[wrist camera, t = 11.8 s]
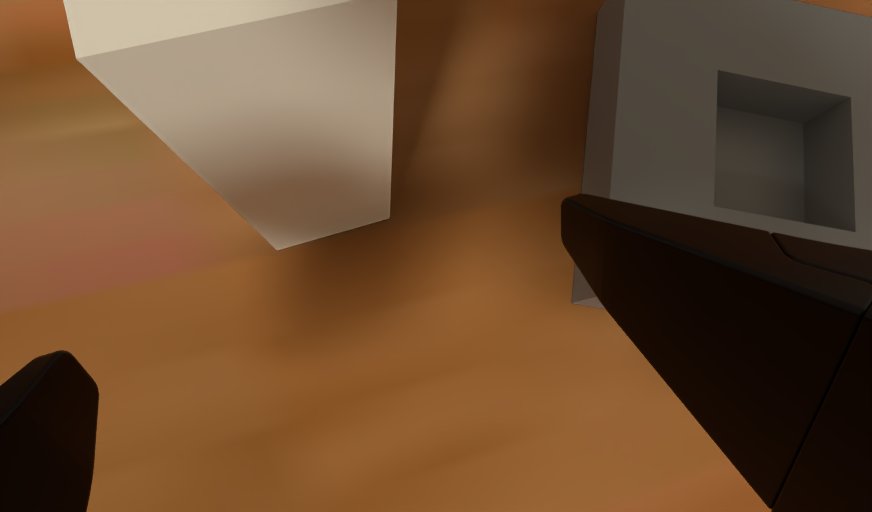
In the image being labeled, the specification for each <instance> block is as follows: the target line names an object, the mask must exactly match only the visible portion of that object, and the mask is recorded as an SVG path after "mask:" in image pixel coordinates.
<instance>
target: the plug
mask: <svg viewBox="0 0 872 512" xmlns="http://www.w3.org/2000/svg"><path fill="white" fill-rule="evenodd" d="M63 1H64V5H65V10H66V14H67V19H68V23H69V28H70V32H71V37H72V41H73V46H74V50H75V55H76V59H77V60H78V61H79V62H80V63H82V64H83V65H84V66H85V67H86V68H87V69H88V70H89V71H90V72H91V73H92V74H93V75H94V76H95V77H96V78H97V79H98V80H99V81H100V82H101V83H102V84H103V85H105V86H106V87H107V88H108V89H109V90H110V91H111V92H112V93H113V94H114V95H115V96H116V97H117V98H118V99H119V100H120V101H121V102H122V103H123V104H124V105H125V106H127V107H128V108H129V109H130V110H131V111H132V112H133V113H134V114H135V115H136V116H137V117H138V118H139V119H140V120H141V121H142V122H143V123H144V124H145V125H146V126H147V127H148V128H150V129H151V130H152V131H153V132H154V133H155V134H156V135H157V136H158V137H159V138H160V139H161V140H162V141H163V142H164V143H165V144H166V145H167V146H168V147H169V148H170V149H171V150H173V151H174V152H175V153H176V154H177V155H178V156H179V157H180V158H181V159H182V160H183V161H184V162H185V163H186V164H187V165H188V166H189V167H190V168H191V169H192V170H193V171H195V172H196V173H197V174H198V175H199V176H200V177H201V178H202V179H203V180H204V181H205V182H206V183H207V184H208V185H209V186H210V187H211V188H212V189H213V190H214V191H215V192H216V193H218V194H219V195H220V196H221V197H222V198H223V199H224V200H225V201H226V202H227V203H228V204H229V205H230V206H231V207H232V208H233V209H234V210H235V211H236V212H237V213H238V214H240V215H241V216H242V217H243V218H244V219H245V220H246V221H247V222H248V223H249V224H250V225H251V226H252V227H253V228H254V229H255V230H256V231H257V232H258V233H259V234H260V235H261V236H263V237H264V238H265V239H266V240H267V241H268V242H269V243H270V244H271V245H272V246H273V247H274V248H275V249H276V250H280V249H284V248H287V247H291V246H295V245H298V244H302V243H305V242H309V241H312V240H316V239H319V238H323V237H326V236H330V235H333V234H337V233H340V232H344V231H347V230H351V229H354V228H358V227H361V226H365V225H368V224H372V223H375V222H379V221H382V220H386V219H389V218H390V199H391V169H392V140H393V110H394V80H395V51H396V21H397V0H63Z"/></svg>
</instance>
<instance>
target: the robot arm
mask: <svg viewBox="0 0 872 512" xmlns="http://www.w3.org/2000/svg"><path fill="white" fill-rule="evenodd" d="M561 238H562V242H563V244H564V246H565V248H566V250H567V251H568V253H569V254H570V256H571V258H572V259H573V261H574V262H575V264H576V265H577V267H578V269H579V270H580V272H581V273H582V275H583V276H584V278H585V279H586V281H587V283H588V284H589V286H590V287H591V289H592V290H593V292H594V294H595V295H596V296H597V298H598V299H599V301H600V302H601V304H602V305H603V306H604V308H605V309H606V310H607V311H608V313H609V314H610V315H611V316H612V318H613V319H614V320H615V321H616V322H617V324H618V325H619V326H620V327H621V328H622V330H623V331H624V332H625V333H626V335H627V336H628V337H629V338H630V339H631V341H632V342H633V343H634V344H635V346H636V347H637V348H638V349H639V350H640V352H641V353H642V354H643V355H644V357H645V358H646V359H647V360H648V361H649V363H650V364H651V365H652V366H653V368H654V369H655V370H656V371H657V372H658V374H659V375H660V376H661V377H662V378H663V380H664V381H665V382H666V383H667V385H668V386H669V387H670V388H671V389H672V391H673V392H674V393H675V394H676V396H677V397H678V398H679V399H680V400H681V402H682V403H683V404H684V405H685V407H686V408H687V409H688V410H689V411H690V413H691V414H692V415H693V416H694V417H695V419H696V420H697V421H698V422H699V424H700V425H701V426H702V427H703V428H704V430H705V431H706V432H707V433H708V435H709V436H710V437H711V438H712V439H713V441H714V442H715V443H716V444H717V446H718V447H719V448H720V449H721V450H722V452H723V453H724V454H725V455H726V456H727V458H728V459H729V460H730V461H731V463H732V464H733V465H734V466H735V467H736V469H737V470H738V471H739V472H740V474H741V475H742V476H743V477H744V478H745V480H746V481H747V482H748V483H749V485H750V486H751V487H752V488H753V489H754V491H755V492H756V493H757V494H758V496H759V497H760V498H761V499H762V500H763V502H764V503H765V504H766V505H767V506H768V508H770V509H772V510H771V511H772V512H872V250H868V249H862V248H856V247H850V246H844V245H838V244H832V243H827V242H821V241H816V240H811V239H806V238H800V237H795V236H790V235H786V234H781V233H776V232H773V233H771V234H770V232H769V231H765V230H761V229H756V228H751V227H746V226H741V225H736V224H731V223H726V222H721V221H716V220H711V219H707V218H702V217H697V216H692V215H687V214H682V213H677V212H672V211H667V210H662V209H658V208H653V207H648V206H643V205H638V204H633V203H628V202H623V201H618V200H613V199H608V198H604V197H599V196H594V195H589V194H578V195H574V196H571V197H568V198H565V199H564V200H563V201H562V204H561ZM98 402H99V392H98V387H97V385H96V383H95V381H94V380H93V379H92V377H91V376H90V375H89V374H88V373H87V371H86V370H85V369H84V368H83V367H82V366H81V364H80V363H79V362H78V361H77V360H76V358H75V357H74V356H73V355H72V354H71V353H69V352H68V351H63V350H60V351H56V352H53V353H49V354H46V355H43V356H39V357H37V358H35V359H33V360H32V361H31V362H29V363H28V364H27V365H26V366H24V367H23V368H22V369H21V370H20V371H18V372H17V373H16V374H15V375H13V376H12V377H11V378H10V379H8V380H7V381H6V382H5V383H3V384H2V385H1V386H0V512H86V511H87V506H88V501H89V496H90V490H91V484H92V478H93V469H94V459H95V444H96V430H97V416H98Z"/></svg>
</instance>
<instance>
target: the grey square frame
mask: <svg viewBox="0 0 872 512" xmlns="http://www.w3.org/2000/svg"><path fill="white" fill-rule="evenodd" d="M581 194H589V195H594V196H599V197H604V198H608V199H613V200H618V201H623V202H628V203H633V204H638V205H643V206H648V207H653V208H658V209H662V210H667V211H672V212H677V213H682V214H687V215H692V216H697V217H702V218H707V219H711V220H716V221H721V222H726V223H731V224H736V225H741V226H746V227H751V228H756V229H761V230H765V231H769V232H770V234H771V233H773V232H776V233H781V234H786V235H790V236H795V237H800V238H806V239H811V240H816V241H821V242H827V243H832V244H838V245H844V246H850V247H856V248H862V249H868V250H872V17H868V16H864V15H859V14H854V13H850V12H845V11H841V10H836V9H831V8H827V7H822V6H818V5H813V4H808V3H804V2H799V1H795V0H605V1H604V3H603V4H602V6H601V8H600V9H599V11H598V14H597V25H596V36H595V47H594V58H593V69H592V80H591V91H590V103H589V114H588V125H587V136H586V147H585V158H584V169H583V180H582V191H581ZM572 303H573V304H579V305H585V306H591V307H597V308H603V309H605V308H604V306H603V305H602V304H601V302H600V301H599V299H598V298H597V296H596V295H595V294H594V292H593V290H592V289H591V287H590V286H589V284H588V283H587V281H586V279H585V278H584V276H583V275H582V273H581V272H580V270H579V269H578V267H577V265H576V264H575V269H574V280H573V291H572Z"/></svg>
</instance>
